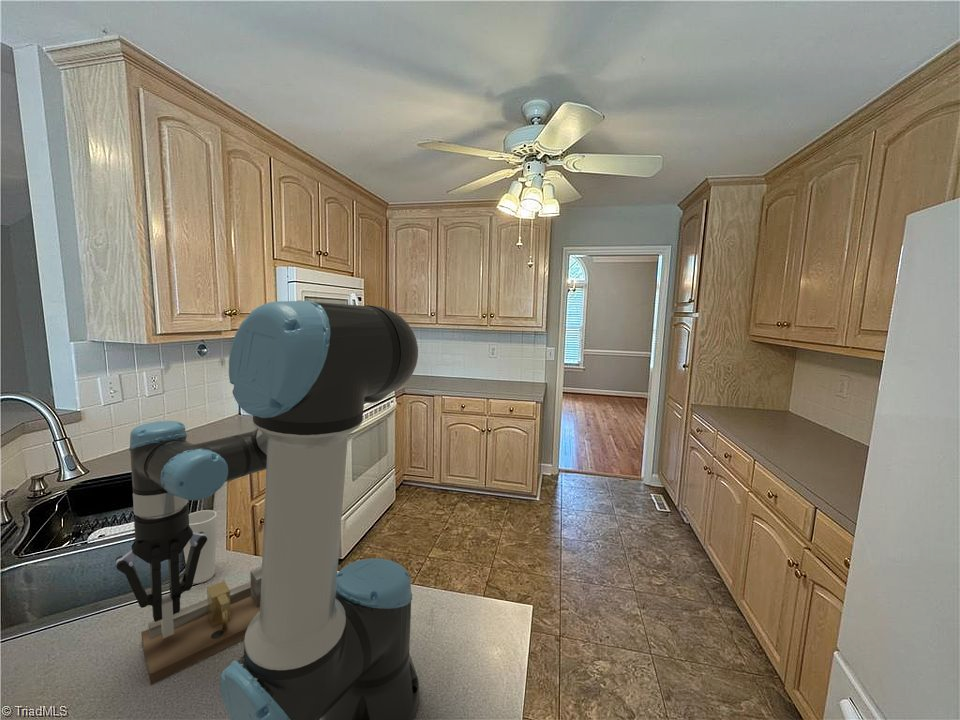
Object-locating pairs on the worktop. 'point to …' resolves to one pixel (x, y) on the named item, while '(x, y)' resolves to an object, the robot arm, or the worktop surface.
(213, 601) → the sliding leg
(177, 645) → the hole board
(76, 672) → the worktop surface
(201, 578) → the drinking glass
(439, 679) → the worktop surface
